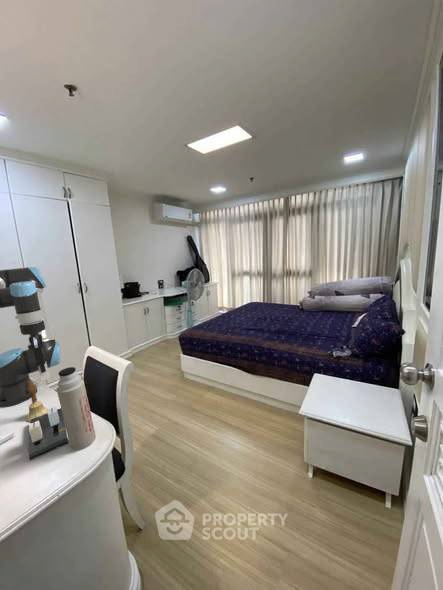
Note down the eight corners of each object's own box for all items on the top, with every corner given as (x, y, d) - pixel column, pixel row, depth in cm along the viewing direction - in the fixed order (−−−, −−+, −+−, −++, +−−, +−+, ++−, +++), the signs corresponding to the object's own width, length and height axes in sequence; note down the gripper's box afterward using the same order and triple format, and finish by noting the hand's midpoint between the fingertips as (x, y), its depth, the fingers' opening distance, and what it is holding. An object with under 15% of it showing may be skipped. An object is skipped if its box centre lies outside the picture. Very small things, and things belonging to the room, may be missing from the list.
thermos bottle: (100, 434, 91) (85, 364, 85) (84, 451, 83) (67, 376, 77) (82, 432, 92) (66, 364, 87) (65, 449, 85) (46, 376, 79)
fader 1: (33, 439, 89) (29, 423, 88) (43, 435, 90) (38, 420, 89) (33, 446, 86) (28, 430, 84) (43, 442, 87) (38, 426, 86)
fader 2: (51, 424, 96) (47, 409, 95) (59, 420, 98) (56, 406, 97) (51, 429, 93) (47, 414, 92) (60, 426, 95) (56, 411, 93)
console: (31, 425, 99) (30, 419, 98) (63, 412, 105) (62, 407, 105) (29, 460, 81) (27, 454, 81) (68, 443, 88) (66, 436, 87)
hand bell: (46, 406, 111) (38, 374, 107) (52, 413, 105) (44, 379, 102) (23, 417, 104) (14, 383, 101) (28, 425, 99) (19, 389, 96)
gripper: (20, 321, 97) (34, 375, 101) (17, 328, 86) (33, 389, 91) (43, 316, 101) (55, 368, 106) (43, 323, 90) (57, 381, 95)
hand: (45, 378), depth 98 cm, fingers closed
